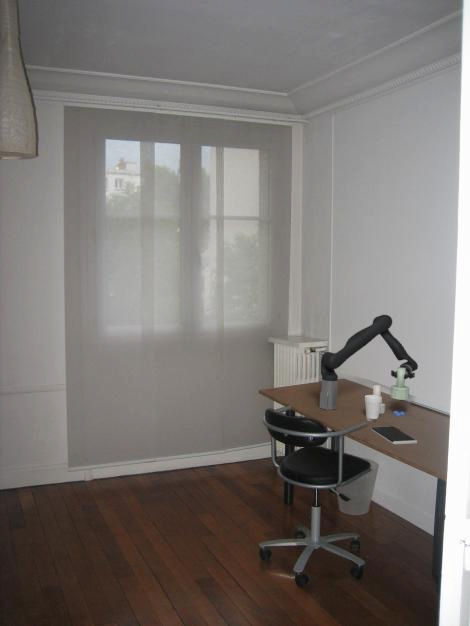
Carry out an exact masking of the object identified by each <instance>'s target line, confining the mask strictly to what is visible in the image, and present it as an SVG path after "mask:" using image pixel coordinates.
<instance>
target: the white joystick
mask: <svg viewBox="0 0 470 626" xmlns="http://www.w3.org/2000/svg"><path fill="white" fill-rule="evenodd" d="M381 393H382V385H381V384H379V383H373V386H372V395H377V396H381ZM381 397H382V396H381ZM385 412H386V404H385V403H384V402H383V401H382V402H381V407H380V412H379V415H380V414H381V415H382V414H384V413H385Z"/></svg>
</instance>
